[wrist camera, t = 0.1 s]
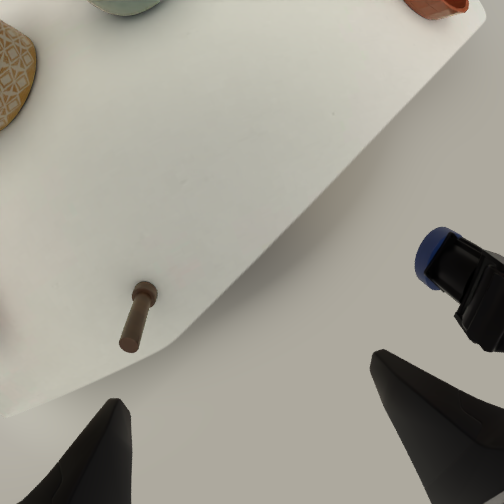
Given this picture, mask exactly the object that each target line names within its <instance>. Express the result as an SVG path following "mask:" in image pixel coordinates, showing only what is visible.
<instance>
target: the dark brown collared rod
mask: <svg viewBox="0 0 504 504" xmlns="http://www.w3.org/2000/svg"><path fill="white" fill-rule="evenodd" d="M156 298H157V290H156V288H155V287H154V286H153V285H152V284H151V283H148V282H140V283H138V284H137V285H136V286H135V288H134V291H133V293H132V300H133V304H132V307H131V310H130V312H129V315H128V318H127V321H126V323H125V326H124V329H123V332H122V335H121V338H120V340H119V345H120V347H121V349H123V350H124V351H126V352H128V353H134V352H136V351H137V350H138V349H139V345H140V341H141V337H142V333H143V329H144V326H145V322H146V318H147V315H148V311H149V308H151V307H152V306H153V305H154V304H155V302H156Z"/></svg>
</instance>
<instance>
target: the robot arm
mask: <svg viewBox="0 0 504 504" xmlns="http://www.w3.org/2000/svg"><path fill="white" fill-rule="evenodd" d="M424 275H425V276H426V277H427V278H428V279H429V280H431V281H432V282H433V283H434V284H435V285H436V286H437V287H438V288H439V289H440V290H442V291H443V292H446V293H447V294H448V295H449V296H451V297H452V298H453V299H454V300H455V301H457V302H458V303H459V304H460V306H459V308H458V310H457V312H456V313H455V315H454V317H455V318H456V320H457V322H458V323H459V325H460V326H461V327H462V329H463V330H464V332H465V333H466V335H467V336H468V338H469V339H470V340H471V341H472V342H473V343H477V344H479V345H480V346H481V347H482V349H483V350H484V351H487V352H493V351H494V352H504V257H503V256H501V255H499V254H497V253H493V252H490V251H487V250H484V249H483V250H482V248H480V247H479V246H477V245H475V244H474V243H472V242H470V241H468V240H466V239H465V238H463V237H459V239H458V238H457V236H456V235H455V234H454V233H453V232H451V231H450V232H449V233H448V234H447V236H446V238H445V239H444V241H443V243H442V244H441V246H440V247H439V249H438V251H437V252H436V254H435V255H434V257H433V258H432V260H431V261H430V263H429V264H428V266H427V267H426V269H425V270H424ZM370 372H371V375H372V378H373V380H374V383H375V385H376V388H377V391H378V393H379V395H380V398H381V401H382V403H383V406H384V408H385V410H386V412H387V414H388V416H389V418H390V419H391V421H392V423H393V425H394V427H395V429H396V431H397V433H398V435H399V437H400V439H401V441H402V443H403V445H404V447H405V449H406V451H407V453H408V455H409V457H410V459H411V461H412V463H413V465H414V467H415V469H416V471H417V473H418V475H419V477H420V479H421V481H422V484H423V486H424V487H425V490H426V492H427V495H428V497H429V499H430V501H431V503H432V504H504V409H503V408H500V407H498V406H495V405H492V404H489V403H486V402H484V401H482V400H480V399H477V398H475V397H473V396H471V395H469V394H467V393H465V392H463V391H461V390H459V389H457V388H455V387H453V386H451V385H450V384H448V383H446V382H444V381H442V380H440V379H438V378H437V377H435V376H433V375H431V374H429V373H427V372H425V371H424V370H422V369H420V368H418V367H416V366H414V365H412V364H411V363H409V362H407V361H405V360H403V359H401V358H399V357H398V356H396V355H394V354H392V353H390V352H389V351H387V350H384V349H382V350H378V351H375V352H374V353H373V355H372V359H371V364H370ZM131 473H132V436H131V415H130V412H129V410H128V409H127V407H126V406H125V405H124V403H123V402H122V401H121V399H119V398H111V399H109V400H108V401H107V402H106V403H105V404H104V405H103V407H102V408H101V409H100V410H99V411H98V413H97V414H96V415H95V416H94V418H93V419H92V420H91V421H90V422H89V424H88V425H87V426H86V428H85V429H84V430H83V431H82V432H81V434H80V435H79V436H78V437H77V439H76V440H75V441H74V442H73V444H72V445H71V446H70V447H69V449H68V450H67V451H66V452H65V454H64V455H63V456H62V458H61V459H60V460H59V462H58V463H57V464H56V465H55V466H54V467H53V469H52V470H51V471H50V472H49V474H48V475H47V476H46V477H45V478H44V479H43V480H42V481H41V482H40V483H39V484H38V485H37V487H35V488H34V489H33V490H32V491H31V492H30V493H29V494H28V496H26V497H25V498H24V499H23V500H22V501H21V502H19V503H17V504H131Z"/></svg>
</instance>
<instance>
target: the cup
mask: <svg viewBox="0 0 504 504" xmlns="http://www.w3.org/2000/svg"><path fill="white" fill-rule="evenodd" d="M87 1H88V2H89V3H91V4H92V5H93V6H95V7H97V8H99V9H100V10H102V11H104V12H107V13H110V14H113V15H120V16H130V15H135V14H139V13H142V12H144V11H146V10H148V9H150V8H152V7H153V6H155V5H156V4H157V3H159V2H160V1H161V0H87Z"/></svg>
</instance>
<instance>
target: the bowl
mask: <svg viewBox="0 0 504 504" xmlns="http://www.w3.org/2000/svg"><path fill="white" fill-rule="evenodd" d="M404 2H405V3H406V4H407V5H408V6H409V7H410V8H411V9H412V10H414V11H415V12H416V13H418V14H419V15H421V16H422V17H424V18H427V19H430V20H438V19H443V18H446V17H450V16H453V15H457V14H461V13H465V12H466V11H467V10H468V7H469V1H468V0H404Z"/></svg>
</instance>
